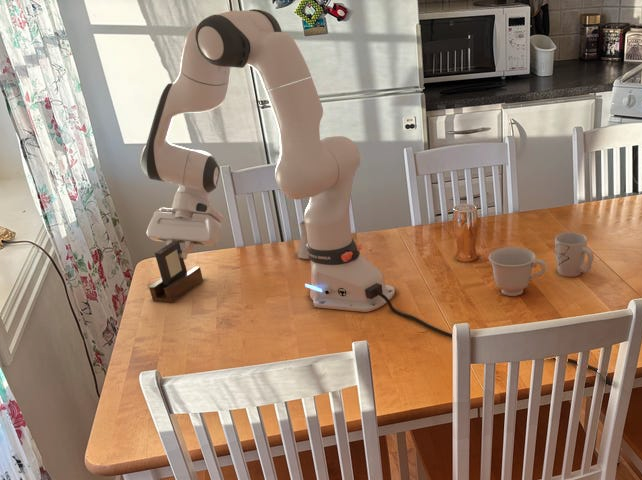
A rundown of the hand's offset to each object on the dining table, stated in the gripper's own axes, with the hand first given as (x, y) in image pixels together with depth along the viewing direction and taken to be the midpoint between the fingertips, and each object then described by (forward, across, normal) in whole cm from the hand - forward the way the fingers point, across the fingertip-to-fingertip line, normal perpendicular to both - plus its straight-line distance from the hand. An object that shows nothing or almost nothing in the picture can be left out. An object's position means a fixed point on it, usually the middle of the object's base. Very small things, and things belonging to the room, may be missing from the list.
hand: (176, 257), depth 193 cm
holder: (+8, 0, +4) cm, 9 cm away
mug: (-15, +102, +26) cm, 106 cm away
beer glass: (-18, +70, +30) cm, 79 cm away
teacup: (-5, +90, +17) cm, 91 cm away
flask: (-13, +24, +25) cm, 37 cm away
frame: (+5, 0, +2) cm, 6 cm away
